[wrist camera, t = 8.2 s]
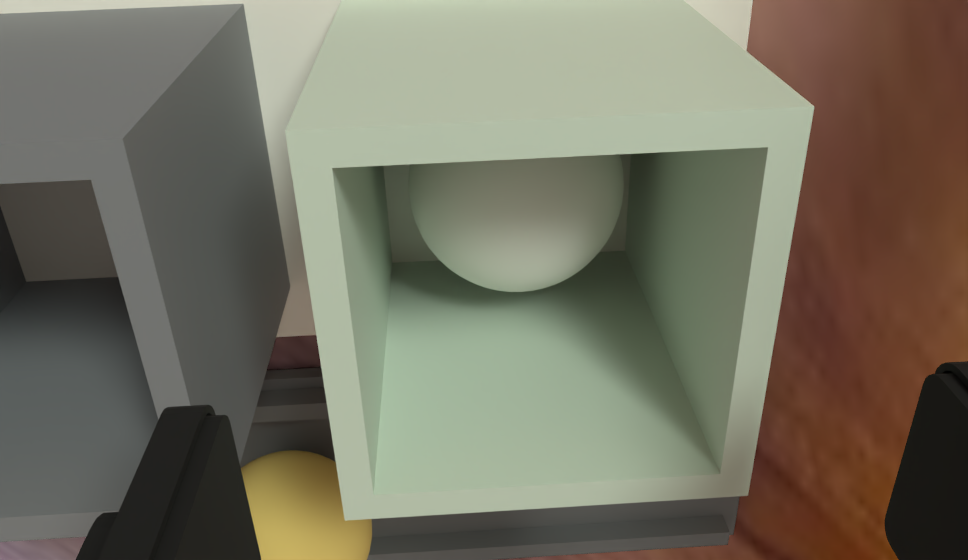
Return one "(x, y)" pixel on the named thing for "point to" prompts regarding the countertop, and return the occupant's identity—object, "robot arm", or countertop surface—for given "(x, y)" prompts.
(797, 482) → the countertop surface
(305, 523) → the mustard ball
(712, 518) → the mat
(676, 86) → the grey double box
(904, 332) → the countertop surface
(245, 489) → the robot arm
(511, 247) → the white ball
